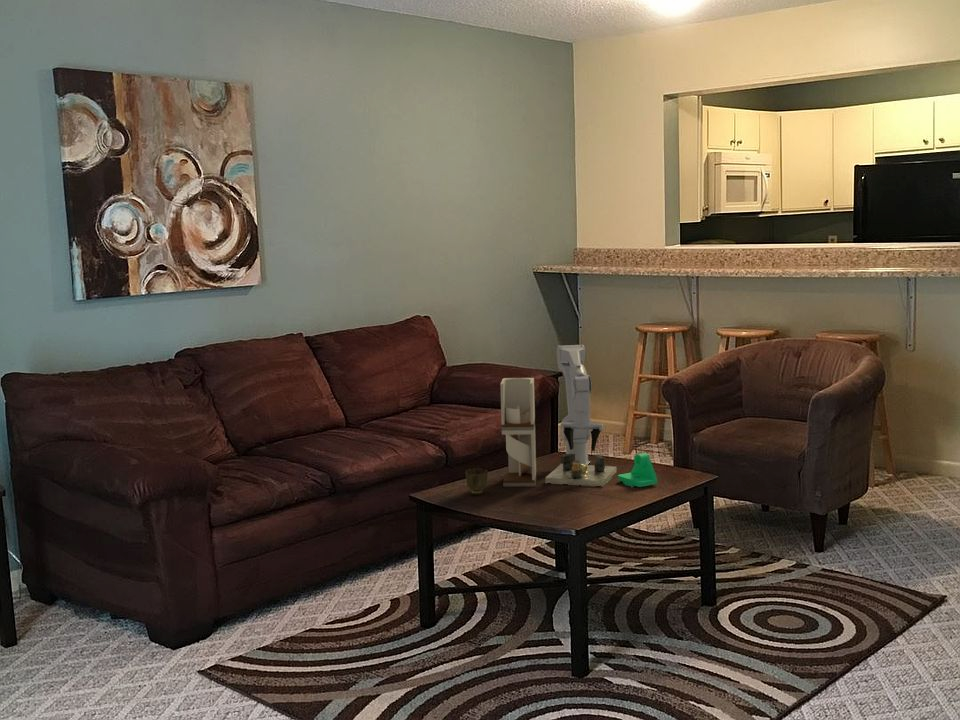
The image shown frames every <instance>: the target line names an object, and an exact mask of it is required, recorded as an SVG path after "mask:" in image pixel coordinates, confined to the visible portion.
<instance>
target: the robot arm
mask: <svg viewBox="0 0 960 720" xmlns="http://www.w3.org/2000/svg"><path fill="white" fill-rule="evenodd" d="M585 359H586V347H585V345H584V344H574V345H573V344H570V345H569V344H568V345H565V344H564V345H560V344H558V345H557V346H556V360H557V361H556V363H557V367H558V370H559V371H561V372H563V376H564V382H565V391H566V403H567V415H566V416H565V417H564V418H562V420H561V423H560V429H561V439H562V440H563V442H565V455H567V454H571V453H572V454H575V460H580V464H587V465H588V464H589V463H590V462H591V463H592V461H591V460H589V446H588V441H589V440H590V439H591V451H592V452H594V451H596V446H597V442H598V439H599V436H600V434H601V431H604V423H599V422H597V423H596V422H591V393H592V389H593V388H592V387H593V383H592V382H593V381H592V379H591V375H589V374H588V372H587V369H586V366H585ZM573 463H574V461H573ZM591 463H590V464H591ZM590 464H589V465H590Z"/></svg>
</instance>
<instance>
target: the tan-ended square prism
mask: <svg viewBox="0 0 960 720" xmlns="http://www.w3.org/2000/svg"><path fill="white" fill-rule="evenodd" d="M571 477H573V478H580V477H582V469H581V468H580V460H575V461H574V463H573V468H572V469H571Z"/></svg>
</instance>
